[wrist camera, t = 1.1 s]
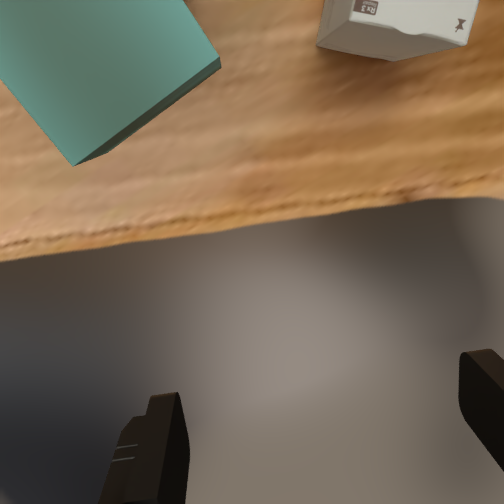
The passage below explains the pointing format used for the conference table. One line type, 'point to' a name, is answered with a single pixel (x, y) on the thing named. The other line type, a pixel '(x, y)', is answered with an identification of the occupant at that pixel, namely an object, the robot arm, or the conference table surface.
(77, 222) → the conference table surface
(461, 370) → the robot arm
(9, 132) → the conference table surface
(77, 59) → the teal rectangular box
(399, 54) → the skincare box
